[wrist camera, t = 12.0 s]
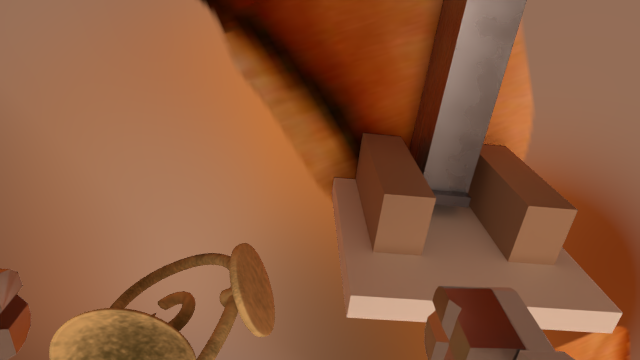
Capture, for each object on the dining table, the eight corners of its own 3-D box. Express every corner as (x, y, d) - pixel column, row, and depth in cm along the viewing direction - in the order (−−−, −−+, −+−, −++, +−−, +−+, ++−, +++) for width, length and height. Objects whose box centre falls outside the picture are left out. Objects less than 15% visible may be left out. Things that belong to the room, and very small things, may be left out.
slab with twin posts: (340, 130, 33) (362, 230, 20) (526, 148, 34) (656, 252, 22) (331, 193, 35) (346, 317, 23) (506, 208, 37) (611, 333, 24)
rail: (458, -65, 28) (489, -72, 23) (510, -57, 28) (551, -62, 23) (404, 171, 35) (419, 203, 30) (446, 175, 35) (468, 207, 30)
